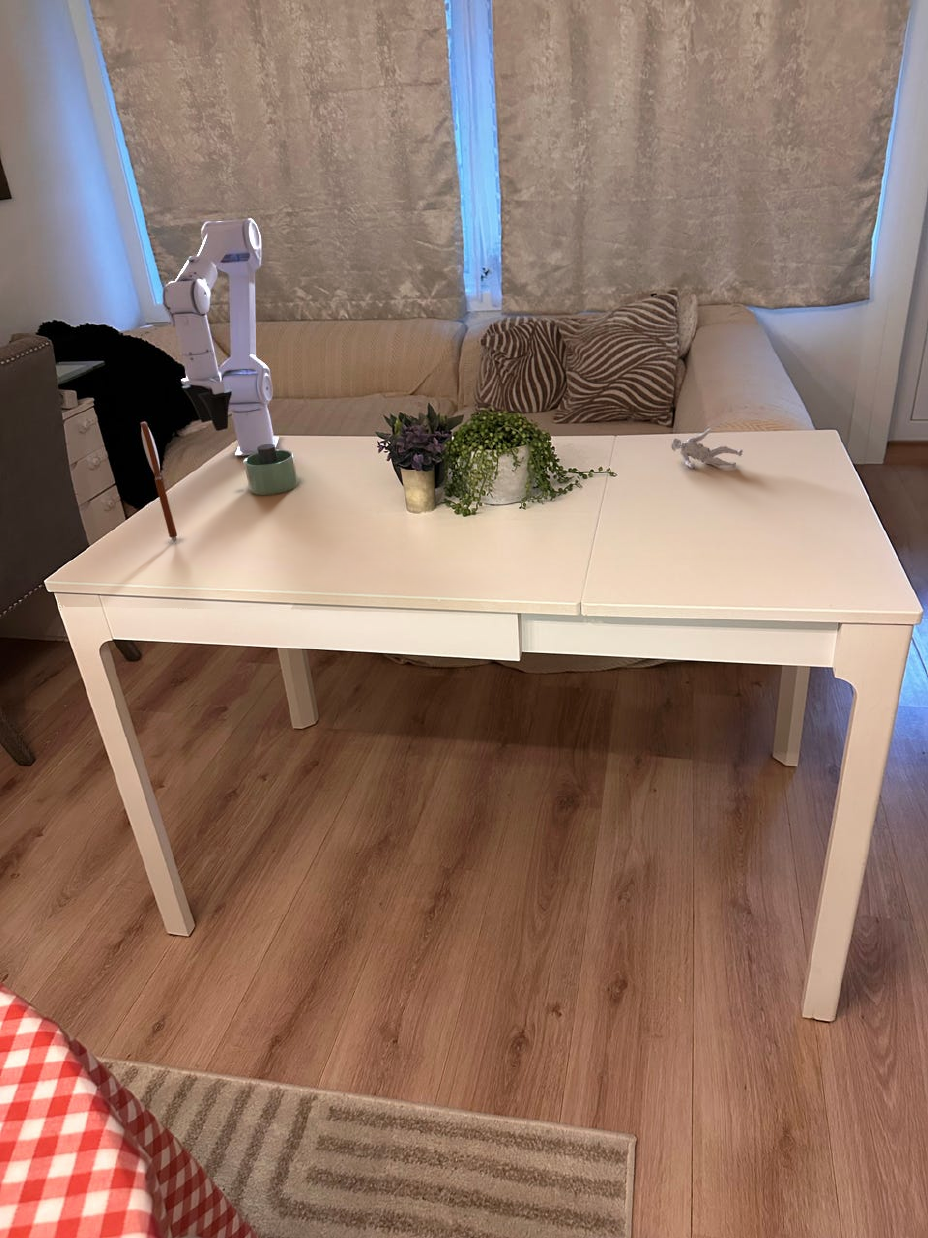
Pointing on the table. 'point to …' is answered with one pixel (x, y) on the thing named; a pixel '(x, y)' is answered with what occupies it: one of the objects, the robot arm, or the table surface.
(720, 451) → the soldier figure
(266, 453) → the brush
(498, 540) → the table surface
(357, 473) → the table surface
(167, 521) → the magnifying glass
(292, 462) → the cup
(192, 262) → the robot arm
